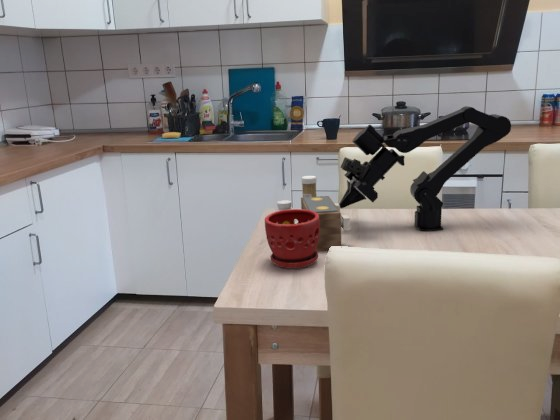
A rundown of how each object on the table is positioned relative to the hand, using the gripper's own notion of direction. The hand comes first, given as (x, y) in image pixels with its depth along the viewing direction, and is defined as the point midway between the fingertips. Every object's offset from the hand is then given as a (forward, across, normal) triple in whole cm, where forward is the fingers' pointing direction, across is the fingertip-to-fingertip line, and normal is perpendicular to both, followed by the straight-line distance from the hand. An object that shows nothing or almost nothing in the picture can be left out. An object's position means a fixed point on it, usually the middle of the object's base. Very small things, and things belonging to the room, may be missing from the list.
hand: (339, 207), depth 152 cm
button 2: (+5, +13, -2) cm, 14 cm away
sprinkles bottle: (+10, -15, +1) cm, 18 cm away
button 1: (+5, 0, -2) cm, 6 cm away
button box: (+10, +7, 0) cm, 12 cm away
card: (+3, +7, -7) cm, 10 cm away
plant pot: (+16, +23, -6) cm, 28 cm away
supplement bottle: (+16, 0, -6) cm, 17 cm away
